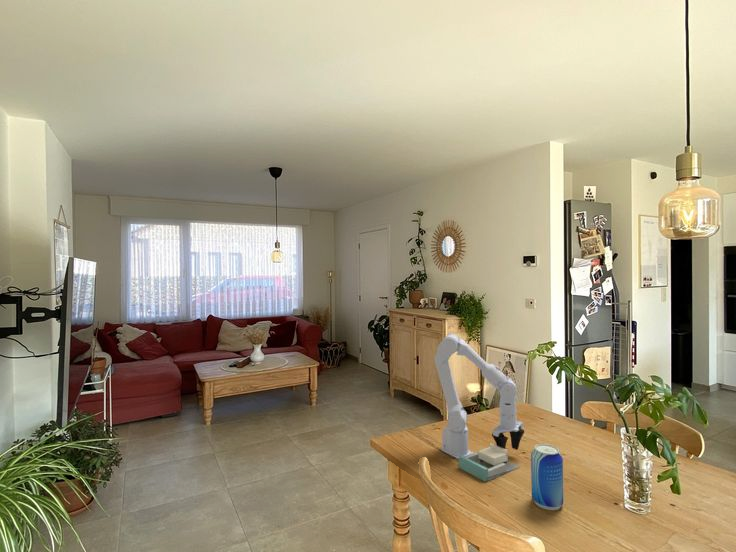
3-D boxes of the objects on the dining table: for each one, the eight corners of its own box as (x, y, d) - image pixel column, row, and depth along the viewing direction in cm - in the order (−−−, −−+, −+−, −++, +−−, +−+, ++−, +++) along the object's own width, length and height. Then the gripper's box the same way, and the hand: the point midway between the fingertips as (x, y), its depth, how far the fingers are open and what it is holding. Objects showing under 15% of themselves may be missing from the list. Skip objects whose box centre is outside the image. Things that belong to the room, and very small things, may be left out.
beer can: (545, 514, 111) (544, 456, 111) (525, 498, 119) (524, 444, 119) (570, 509, 113) (569, 452, 113) (549, 493, 121) (548, 441, 121)
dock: (458, 469, 138) (458, 455, 138) (492, 455, 148) (492, 443, 148) (486, 484, 128) (486, 469, 128) (520, 468, 138) (520, 455, 138)
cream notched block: (478, 461, 140) (477, 448, 140) (491, 456, 144) (491, 443, 144) (494, 469, 134) (494, 455, 134) (508, 463, 138) (507, 450, 138)
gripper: (504, 421, 136) (504, 461, 136) (530, 412, 144) (530, 450, 144) (487, 415, 142) (488, 453, 142) (513, 407, 150) (513, 443, 150)
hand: (508, 451), depth 144 cm, fingers open, 7 cm apart
